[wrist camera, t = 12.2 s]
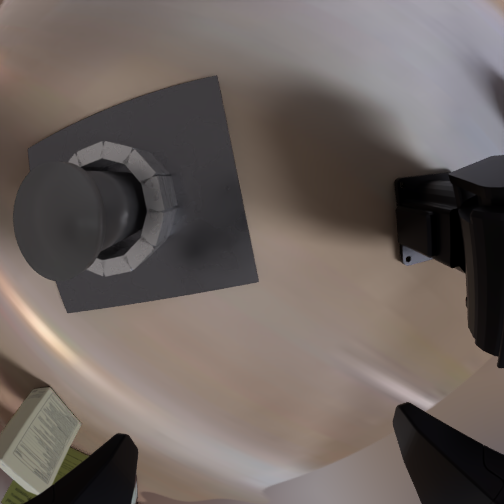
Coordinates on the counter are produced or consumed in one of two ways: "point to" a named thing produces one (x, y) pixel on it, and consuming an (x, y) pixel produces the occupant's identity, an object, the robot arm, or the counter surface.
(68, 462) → the protein box
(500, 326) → the robot arm
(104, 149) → the barrel stand
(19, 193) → the plug
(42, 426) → the skincare box
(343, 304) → the counter surface
